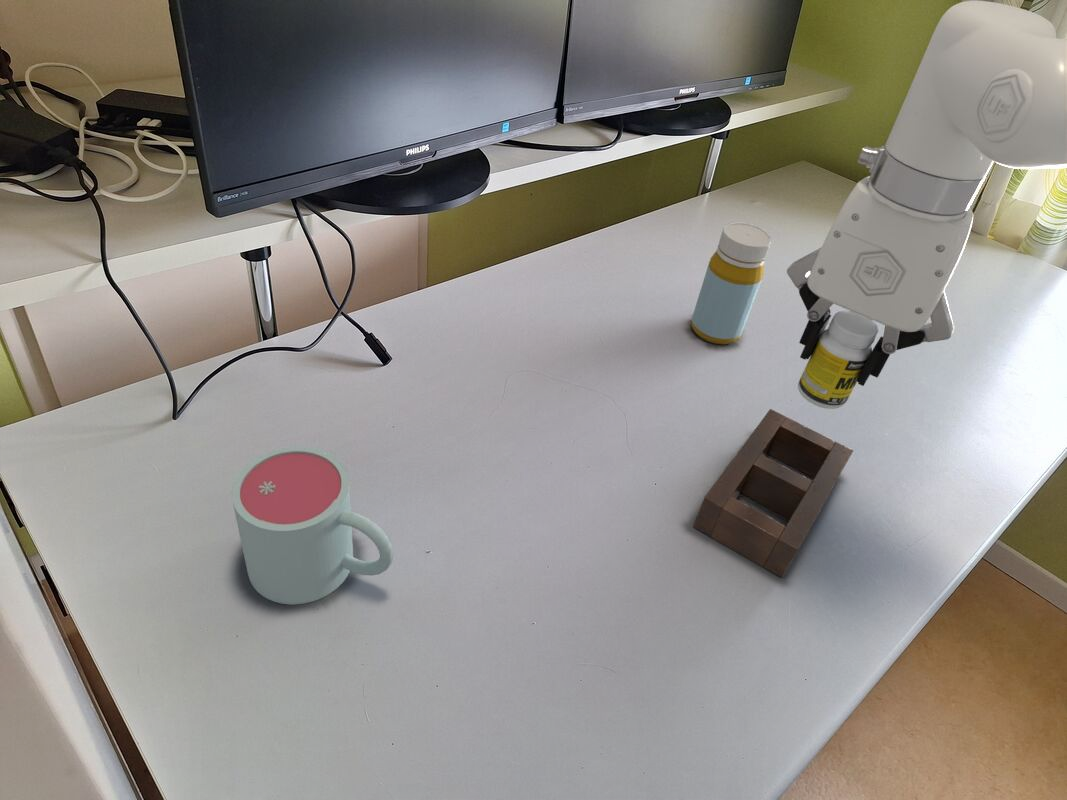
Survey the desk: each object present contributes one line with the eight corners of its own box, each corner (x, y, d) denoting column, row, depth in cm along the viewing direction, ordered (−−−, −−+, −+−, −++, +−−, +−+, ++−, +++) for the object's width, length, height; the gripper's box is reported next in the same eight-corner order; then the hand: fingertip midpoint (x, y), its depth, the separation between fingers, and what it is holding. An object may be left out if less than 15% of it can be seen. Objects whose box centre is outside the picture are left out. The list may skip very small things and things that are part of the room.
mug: (225, 582, 66) (206, 507, 60) (286, 508, 73) (275, 433, 67) (366, 638, 64) (363, 566, 57) (415, 556, 71) (417, 484, 64)
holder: (838, 478, 85) (853, 449, 82) (782, 578, 74) (798, 549, 71) (757, 437, 89) (770, 408, 86) (692, 526, 77) (704, 497, 75)
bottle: (712, 310, 108) (743, 215, 98) (750, 336, 105) (786, 240, 95) (679, 325, 105) (708, 228, 95) (717, 352, 101) (752, 254, 91)
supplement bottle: (828, 417, 71) (864, 344, 65) (787, 388, 73) (818, 317, 68) (856, 399, 73) (893, 328, 68) (815, 372, 76) (847, 302, 70)
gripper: (804, 159, 60) (736, 344, 71) (1033, 239, 53) (917, 427, 65) (833, 134, 65) (766, 311, 76) (1046, 205, 58) (936, 386, 70)
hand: (836, 363), depth 71 cm, fingers closed on supplement bottle, 4 cm apart
